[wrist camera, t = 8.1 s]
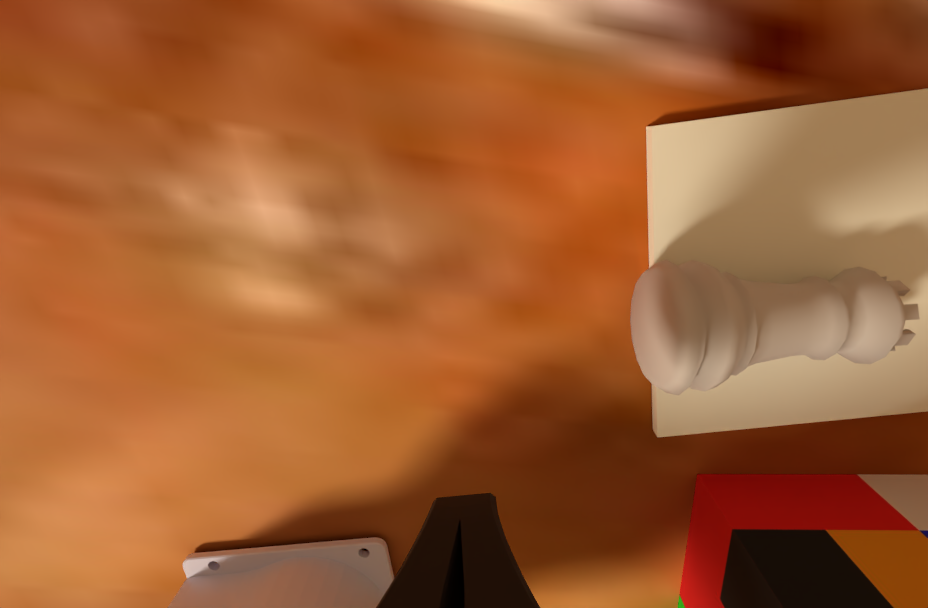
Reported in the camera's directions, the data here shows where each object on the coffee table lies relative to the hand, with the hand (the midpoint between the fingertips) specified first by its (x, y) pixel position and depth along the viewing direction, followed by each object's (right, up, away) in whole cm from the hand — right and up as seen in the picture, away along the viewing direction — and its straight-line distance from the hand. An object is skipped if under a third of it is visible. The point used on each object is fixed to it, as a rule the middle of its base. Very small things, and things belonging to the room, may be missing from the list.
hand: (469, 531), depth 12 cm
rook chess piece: (+6, +4, +5) cm, 9 cm away
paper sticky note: (+12, +6, +7) cm, 16 cm away
